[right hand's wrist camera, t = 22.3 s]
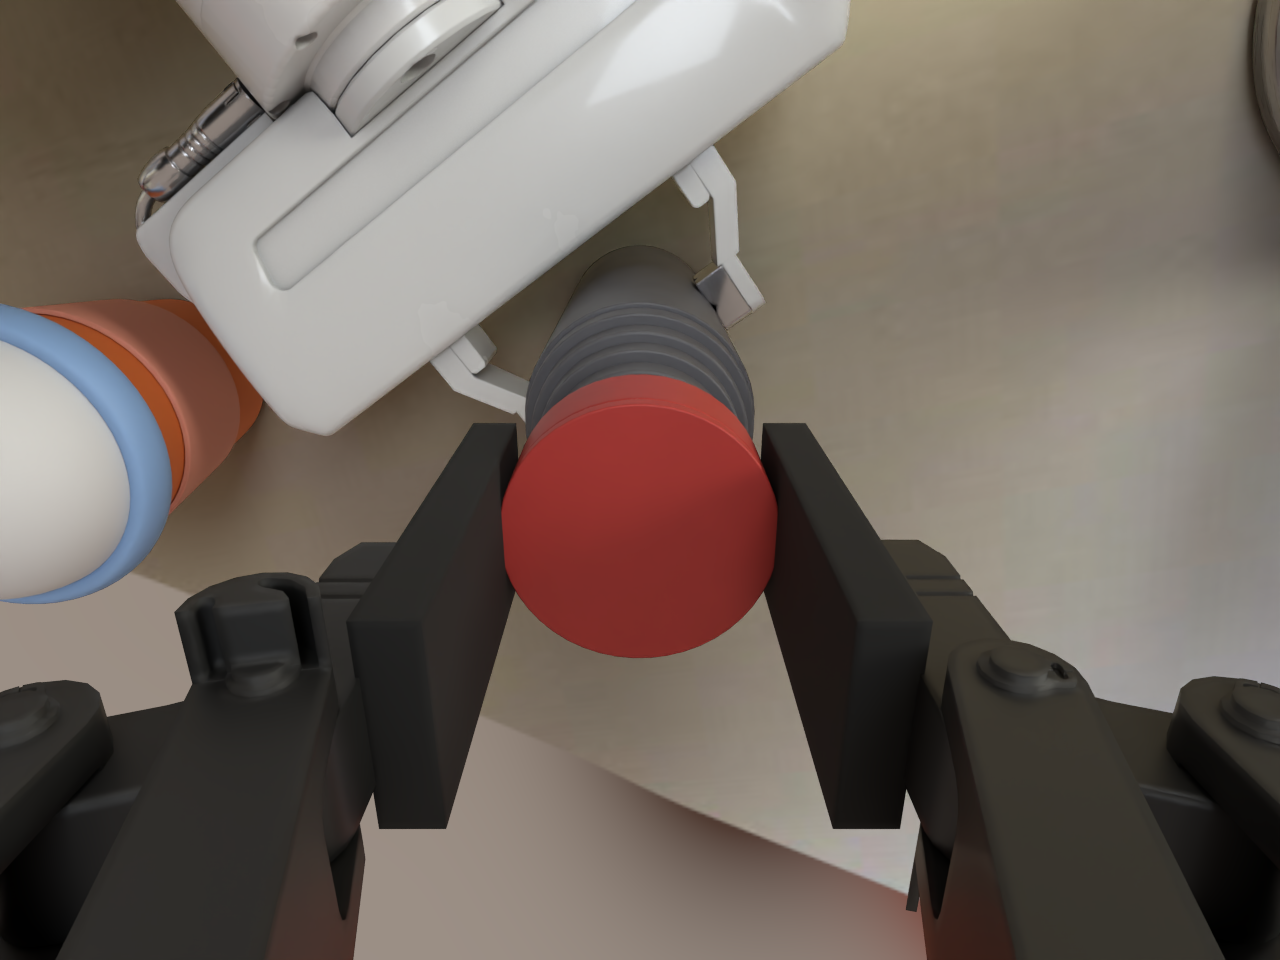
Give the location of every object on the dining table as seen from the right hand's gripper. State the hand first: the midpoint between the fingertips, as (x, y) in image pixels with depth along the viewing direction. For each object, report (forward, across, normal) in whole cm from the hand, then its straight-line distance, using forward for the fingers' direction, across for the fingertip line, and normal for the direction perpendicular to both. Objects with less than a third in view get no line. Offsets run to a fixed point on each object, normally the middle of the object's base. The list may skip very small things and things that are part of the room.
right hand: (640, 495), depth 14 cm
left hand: (+11, -1, +1) cm, 12 cm away
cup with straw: (+18, +18, +2) cm, 26 cm away
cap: (-2, 0, 0) cm, 2 cm away
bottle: (+18, 0, 0) cm, 18 cm away
